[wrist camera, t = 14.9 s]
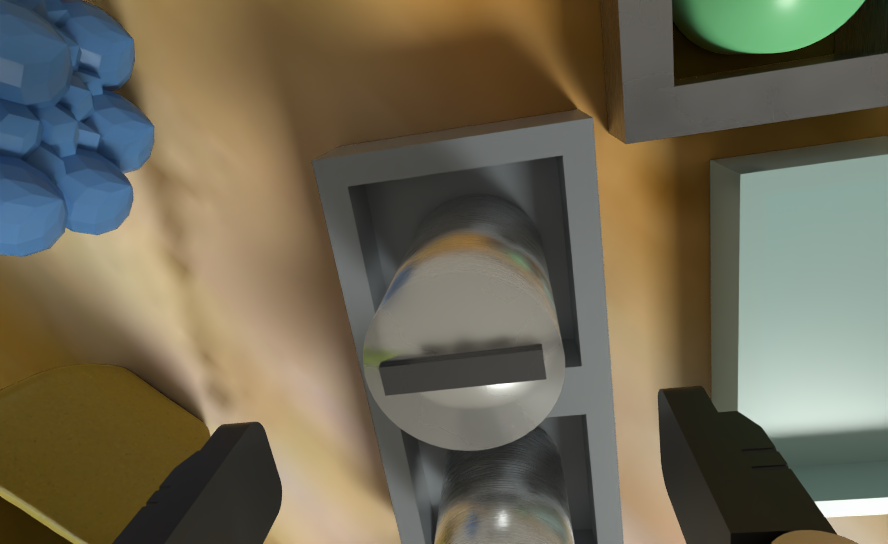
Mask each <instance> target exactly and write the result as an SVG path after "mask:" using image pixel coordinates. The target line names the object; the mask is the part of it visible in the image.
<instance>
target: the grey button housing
mask: <svg viewBox="0 0 888 544" xmlns="http://www.w3.org/2000/svg"><path fill="white" fill-rule="evenodd" d="M600 5H601V21H602V37H603V52H604V68H605V84H606V100H607V115H608V131H609V134H611V135H612V136H614V137H615V138H617V139H619V140H620V141H622V142H623V143H625V144H630V143H637V142H644V141H651V140H657V139H664V138H671V137H678V136H685V135H692V134H699V133H705V132H712V131H719V130H726V129H733V128H740V127H747V126H753V125H760V124H767V123H774V122H781V121H788V120H795V119H801V118H808V117H815V116H822V115H829V114H836V113H843V112H849V111H856V110H863V109H870V108H877V107H884V106H888V0H865V1H864V2H863V4H862V5H861V6H860V7H859V8H858V10H857V11H856V12H855V13H854V14H853V15H852V16H851V17H850V18H849V19H848V20H847V21H846V22H845V23H844V24H843V25H841V26H840V27H839V28H838V29H836V30H835V43H834V54H831V55H825V56H819V57H812V58H806V59H800V60H793V61H787V62H781V63H775V64H768V65H762V66H756V67H750V68H743V69H737V70H731V71H724V72H718V73H712V74H706V75H699V76H693V77H687V78H680V79H674V61H673V23H672V0H600Z"/></svg>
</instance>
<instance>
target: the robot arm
mask: <svg viewBox="0 0 888 544" xmlns="http://www.w3.org/2000/svg"><path fill="white" fill-rule="evenodd" d="M658 411H659V432H660V453H661V465H662V472H663V477H664V481H665V486H666V489H667V492H668V495H669V498H670V501H671V503H672V506H673V509H674V511H675V514H676V517H677V519H678V522H679V525H680V527H681V530H682V533H683V535H684V538H685V541H686V543H687V544H858V543H856V542H854V541H852V540H849V539H847V538H845V537H842V536H839V535H837V533H836V532H835V531H834V529H833V528H832V526H831V525H830V524H829V522H828V521H827V519H826V518H825V516H824V515H823V514H822V512H821V511H820V509H819V508H818V506H817V505H816V504H815V502H814V501H813V499H812V498H811V496H810V495H809V494H808V492H807V491H806V489H805V488H804V487H803V485H802V484H801V482H800V481H799V479H798V478H797V477H796V475H795V474H794V472H793V471H792V469H789V468H788V464H787V462H786V461H785V460H784V458H783V457H782V455H781V454H780V452H779V451H777V450H776V447H775V445H774V444H773V442H772V441H771V440H770V438H769V437H768V435H767V434H766V432H765V431H764V430H763V428H762V427H761V426H759V425H758V424H756V423H755V422H753V421H752V420H750V419H749V418H747V417H746V416H744V415H743V414H741V413H740V412H738V411H728V412H718V411H717V410H716V408H715V406H714V405H713V403H712V401H711V400H710V398H709V396H708V395H707V393H706V392H705V390H704V388H703V387H702V386H693V387H681V388H669V389H660V390H659V392H658ZM281 501H282V486H281V481H280V477H279V474H278V471H277V468H276V465H275V461H274V458H273V455H272V452H271V448H270V445H269V442H268V439H267V435H266V432H265V430H264V428H263V426H262V425H261V424H260V423H259V422H247V423H235V424H224V425H221V426H220V427H218V428H217V430H216V431H215V432H214V433H213V435H212V436H211V437H210V438H209V440H208V441H207V442H206V443H205V445H204V446H203V447H202V448H201V450H200V451H196V452H195V453H194V454H192V455H191V456H190V457H188V458H187V459H186V460H184V461H183V462H182V463H180V464H179V465H178V466H176V467H175V468H174V469H173V471H172V472H171V473H170V474H169V475H168V477H167V478H166V479H165V480H164V481H163V483H162V484H161V485H160V486H159V490H156V491H155V492H154V493H153V495H152V496H151V497H150V498H149V499H148V501H147V502H146V506H144V507H142V508H141V509H140V510H139V511H138V513H137V514H136V515H135V516H134V518H133V519H132V520H131V521H130V522H129V524H128V525H127V526H126V527H125V528H124V530H123V531H122V532H121V533H120V534H119V536H118V537H117V538H116V539H115V540H114V542H113V543H112V544H263V542H264V540H265V538H266V537H267V535H268V533H269V531H270V529H271V527H272V525H273V523H274V521H275V519H276V517H277V515H278V513H279V510H280V506H281Z"/></svg>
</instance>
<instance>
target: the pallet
mask: <svg viewBox="0 0 888 544" xmlns="http://www.w3.org/2000/svg"><path fill="white" fill-rule="evenodd" d="M312 165H313V169H314V173H315V178H316V182H317V186H318V190H319V195H320V199H321V203H322V207H323V212H324V216H325V220H326V224H327V229H328V233H329V237H330V241H331V246H332V250H333V254H334V258H335V263H336V267H337V271H338V275H339V280H340V284H341V288H342V292H343V297H344V301H345V305H346V309H347V314H348V318H349V322H350V326H351V331H352V335H353V339H354V343H355V348H356V352H357V356H358V360H359V365H360V369H361V373H362V377H363V382H364V386H365V390H366V394H367V399H368V403H369V407H370V411H371V416H372V420H373V424H374V428H375V433H376V437H377V441H378V445H379V450H380V454H381V458H382V462H383V467H384V471H385V475H386V480H387V484H388V488H389V492H390V497H391V501H392V505H393V509H394V514H395V518H396V522H397V526H398V531H399V535H400V539H401V543H402V544H434V542H435V534H436V527H437V520H438V512H439V505H440V498H441V490H442V483H443V476H444V468H445V461H446V455H447V451H448V449H446V448H441V447H438V446H435V445H431V444H428V443H426V442H424V441H421V440H419V439H417V438H415V437H413V436H412V435H410V434H408V433H406V432H405V431H404V430H402V429H401V428H399V427H398V426H397V425H396V424H395V423H394V422H392V421H391V420H390V419H389V418H388V417H387V416H386V414H385V413H384V412H383V411H382V410H381V409H380V407H379V406H378V404H377V403H376V401H375V400H374V398H373V396H372V394H371V392H370V390H369V387H368V384H367V381H366V378H365V373H364V368H363V349H364V342H365V338H366V334H367V331H368V329H369V327H370V324H371V322H372V320H373V318H374V316H375V314H376V312H377V310H378V308H379V306H380V304H381V302H382V300H383V298H384V296H385V294H386V292H387V290H388V288H389V286H390V284H391V282H392V280H393V278H394V276H395V274H396V272H397V270H398V268H399V266H400V264H401V262H402V260H403V258H404V256H405V254H406V252H407V250H408V248H409V246H410V244H411V242H412V240H413V238H414V236H415V234H416V232H417V230H418V228H419V226H420V225H421V223H422V222H423V220H424V219H425V218H426V217H427V215H428V214H429V213H430V212H432V211H433V210H434V209H435V208H436V207H438V206H439V205H441V204H442V203H444V202H446V201H448V200H450V199H453V198H456V197H459V196H464V195H471V194H484V195H490V196H495V197H498V198H501V199H504V200H506V201H508V202H510V203H512V204H514V205H515V206H517V207H518V208H519V209H521V210H522V211H523V212H524V213H525V214H526V215H527V216H528V217H529V218H530V219H531V221H532V222H533V223H534V225H535V226H536V228H537V230H538V232H539V234H540V237H541V240H542V243H543V248H544V254H545V259H546V264H547V269H548V274H549V279H550V284H551V289H552V294H553V299H554V304H555V309H556V314H557V319H558V324H559V329H560V334H561V340H562V345H563V350H564V355H565V376H564V382H563V386H562V390H561V393H560V395H559V397H558V400H557V402H556V403H555V405H554V407H553V408H552V410H551V412H550V413H549V414H548V415H547V416H546V418H545V419H544V420H543V421H542V422H541V423H540V424H539V425H538V427H540V428H541V429H542V430H544V431H545V432H546V433H547V434H548V435H549V436H550V437H551V438H552V440H553V441H554V442H555V444H556V446H557V447H558V449H559V452H560V455H561V460H562V466H563V473H564V479H565V485H566V492H567V498H568V505H569V511H570V518H571V524H572V530H573V537H574V543H575V544H624V542H623V528H622V515H621V501H620V487H619V473H618V459H617V445H616V431H615V417H614V403H613V389H612V375H611V361H610V348H609V334H608V320H607V306H606V292H605V278H604V264H603V250H602V236H601V222H600V208H599V195H598V181H597V167H596V153H595V139H594V125H593V117H591V116H589V115H587V114H586V113H584V112H582V111H581V110H579V109H577V110H571V111H564V112H558V113H551V114H545V115H539V116H532V117H526V118H519V119H513V120H506V121H500V122H494V123H487V124H481V125H474V126H468V127H461V128H455V129H449V130H442V131H436V132H429V133H423V134H417V135H410V136H404V137H397V138H391V139H384V140H378V141H372V142H365V143H359V144H352V145H346V146H340V147H337V148H335V149H333V150H331V151H330V152H328V153H326V154H324V155H322V156H320V157H318V158H316V159H314V160H312Z"/></svg>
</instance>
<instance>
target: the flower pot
mask: <svg viewBox="0 0 888 544" xmlns="http://www.w3.org/2000/svg"><path fill="white" fill-rule="evenodd" d="M209 438H210V433H209V430H208V427H207V426H206V425H205V424H204V423H203V422H202V421H200V420H199V419H197V418H196V417H194V416H193V415H192V414H190V413H189V412H187V411H186V410H184V409H183V408H181V407H180V406H178V405H177V404H176V403H174V402H173V401H171V400H170V399H168V398H167V397H166V396H164V395H163V394H161V393H160V392H159V391H157V390H156V389H154V388H153V387H152V386H150V385H149V384H147V383H146V382H145V381H143V380H142V379H140V378H139V377H138V376H137V375H135V374H134V373H132V372H131V371H129V370H128V369H126V368H124V367H120V366H115V365H106V364H77V365H70V366H64V367H58V368H55V369H51V370H47V371H44V372H41V373H38V374H36V375H33V376H31V377H28V378H26V379H24V380H22V381H19V382H17V383H15V384H13V385H10V386H8V387H6V388H4V389H1V390H0V544H112V543H113V542H114V540H115V539H116V538H117V537H118V536H119V534H120V533H121V532H122V531H123V530H124V528H125V527H126V526H127V525H128V524H129V522H130V521H131V520H132V519H133V518H134V516H135V515H136V514H137V513H138V511H139V510H140V509H141V508H142V507H144V506H146V502H147V501H148V499H149V498H150V497H151V496H152V495H153V493H154V492H155V491H156V490H159V486H160V485H161V484H162V483H163V481H164V480H165V479H166V478H167V477H168V475H169V474H170V473H171V472H172V471H173V469H174V468H175V467H176V466H178V465H179V464H180V463H182V462H183V461H184V460H186V459H187V458H188V457H190V456H191V455H192V454H194V453H195V452H196V451H200V450H201V448H202V447H203V446H204V445H205V443H206V442H207V441H208V440H209Z"/></svg>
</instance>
